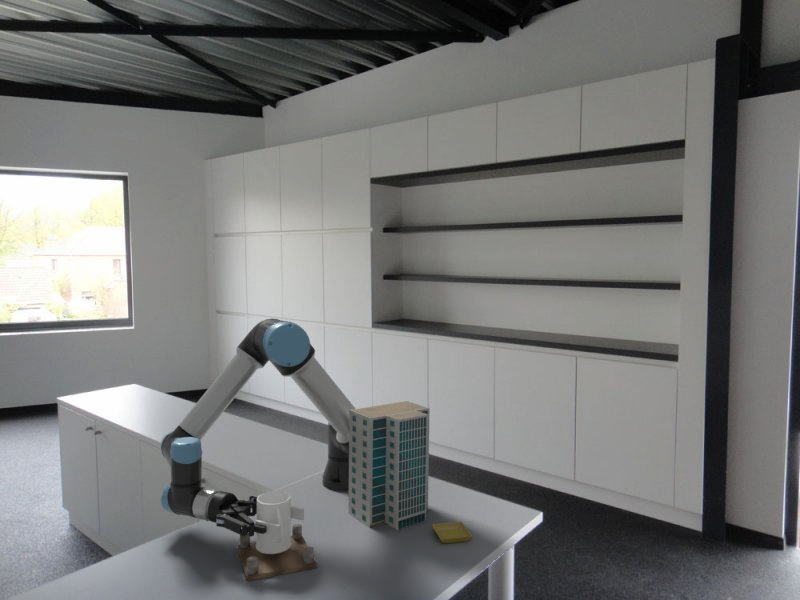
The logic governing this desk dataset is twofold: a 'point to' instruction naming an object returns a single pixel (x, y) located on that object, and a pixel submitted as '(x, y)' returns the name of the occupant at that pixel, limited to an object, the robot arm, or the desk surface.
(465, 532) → the yellow square slab
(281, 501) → the mug
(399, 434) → the building model
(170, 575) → the desk surface
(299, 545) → the board with corner pegs
